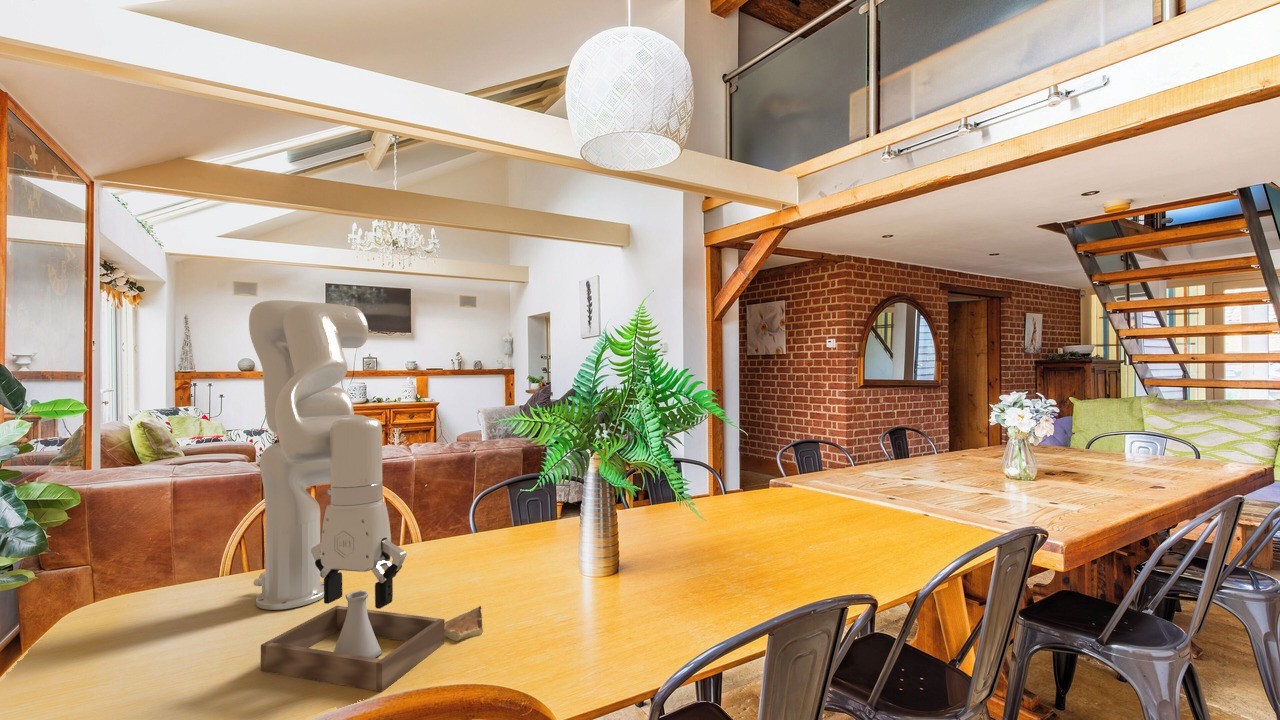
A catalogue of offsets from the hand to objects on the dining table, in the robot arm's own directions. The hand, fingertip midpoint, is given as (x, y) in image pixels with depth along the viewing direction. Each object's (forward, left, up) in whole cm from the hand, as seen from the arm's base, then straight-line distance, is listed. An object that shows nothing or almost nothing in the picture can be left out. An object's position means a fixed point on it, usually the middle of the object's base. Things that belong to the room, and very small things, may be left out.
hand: (358, 602), depth 92 cm
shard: (+9, +14, -9) cm, 19 cm away
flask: (-1, 0, -9) cm, 9 cm away
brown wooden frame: (-1, 0, -9) cm, 9 cm away
